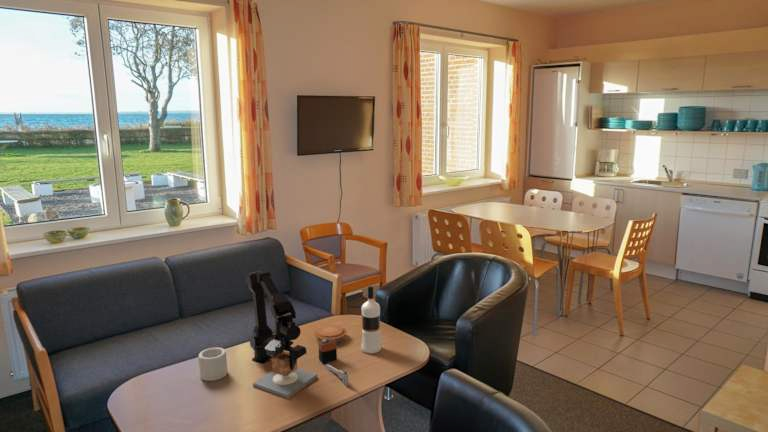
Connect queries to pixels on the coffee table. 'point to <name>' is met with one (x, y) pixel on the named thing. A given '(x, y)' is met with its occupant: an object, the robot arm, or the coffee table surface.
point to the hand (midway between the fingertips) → (284, 367)
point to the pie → (330, 333)
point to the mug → (212, 364)
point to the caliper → (341, 374)
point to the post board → (285, 382)
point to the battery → (327, 350)
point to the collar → (282, 364)
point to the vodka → (371, 325)
